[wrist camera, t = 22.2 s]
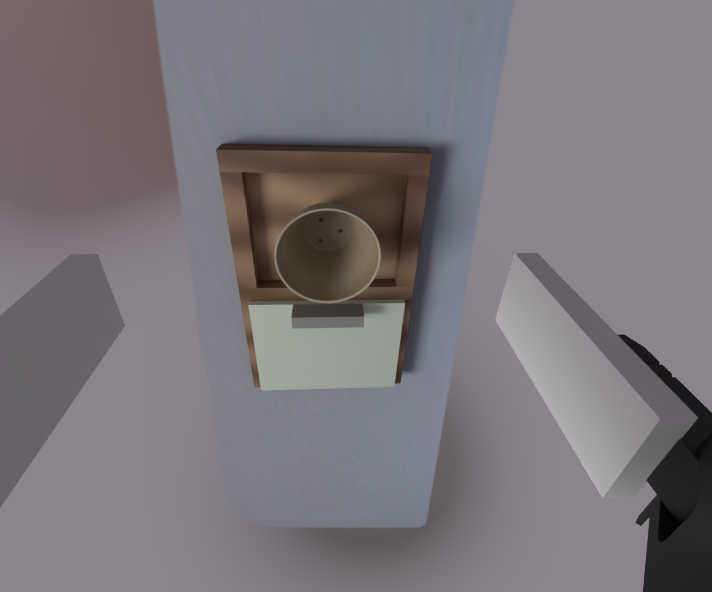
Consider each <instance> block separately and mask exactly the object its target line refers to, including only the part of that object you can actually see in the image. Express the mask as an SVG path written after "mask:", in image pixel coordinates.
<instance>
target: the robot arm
mask: <svg viewBox="0 0 712 592" xmlns="http://www.w3.org/2000/svg"><path fill="white" fill-rule="evenodd" d="M496 322H497V323H498V325H499V327H500V328H501V330H502V332H503V333H504V335H505V337H506V338H507V340H508V342H509V343H510V345H511V346H512V348H513V350H514V352H515V353H516V355H517V357H518V358H519V360H520V362H521V363H522V365H523V366H524V368H525V370H526V372H527V373H528V375H529V376H530V378H531V380H532V381H533V383H534V385H535V386H536V388H537V390H538V391H539V393H540V395H541V396H542V398H543V400H544V401H545V403H546V405H547V406H548V408H549V410H550V411H551V413H552V415H553V416H554V418H555V420H556V421H557V423H558V425H559V426H560V428H561V429H562V431H563V433H564V435H565V436H566V438H567V440H568V441H569V443H570V445H571V446H572V448H573V450H574V451H575V453H576V455H577V456H578V458H579V459H580V461H581V463H582V465H583V466H584V468H585V469H586V471H587V473H588V474H589V476H590V478H591V479H592V481H593V483H594V484H595V486H596V488H597V489H598V491H599V493H600V494H601V496H602V498H613V497H630V496H631V497H632V496H635V495H636V494H637V493H638V491H639V490H640V489H641V488H642V486H643V485H644V484H645V483H646V482H647V481H648V483H649V484H650V486H651V487H652V488H653V490H654V491H655V492H656V494H657V495H656V497H655V498H654V499H653V500H652V501H651V503H649V505H648V506H647V507H646V508H645V509H644V511H643V512H642V513H641V514H640V515H639V516H638V519H637V521H636V523H637V524H639V525H640V526H641V525H642V524H643V523H644V522H645V521H646V520H647V519H648V518H650V520H649V531H648V542H647V553H646V564H645V575H644V586H643V592H712V413H711V412H710V411H709V410H708V409H707V408H706V407H705V406H704V405H703V404H702V403H701V402H700V401H699V400H698V399H697V398H696V397H695V396H694V395H693V394H692V393H691V392H690V391H689V390H688V389H687V388H686V387H685V386H684V385H683V384H681V382H680V381H678V380H677V379H676V378H675V377H672V374H671V373H670V372H669V371H668V370H667V369H666V368H665V367H664V366H663V365H660V364H659V361H658V360H657V359H656V358H655V357H654V356H653V355H652V354H651V353H650V352H648V350H647V349H646V348H645V347H643V346H642V345H640V344H638V343H637V342H635V341H634V340H632V339H630V338H629V337H627V336H626V335H617V334H616V333H615V332H614V331H613V330H612V329H611V328H610V327H609V326H608V325H607V324H606V323H605V322H604V321H603V320H602V319H601V318H600V317H599V316H598V315H597V314H596V313H595V312H594V311H593V310H592V309H591V308H590V306H589V305H587V303H586V302H585V301H584V300H582V298H581V297H580V296H579V295H578V294H577V293H576V292H575V291H574V290H573V289H572V288H571V287H570V286H569V285H568V284H567V283H566V282H565V281H564V280H563V279H562V278H561V277H560V276H559V275H558V274H557V273H556V272H555V271H554V270H553V269H552V268H551V267H550V266H549V265H548V264H547V263H546V262H545V260H544V259H542V257H541V256H540V255H538V253H515V255H514V259H513V262H512V265H511V269H510V272H509V275H508V279H507V282H506V286H505V289H504V292H503V296H502V299H501V302H500V306H499V309H498V313H497V316H496ZM124 326H125V325H124V322H123V320H122V317H121V314H120V312H119V309H118V306H117V304H116V301H115V299H114V296H113V293H112V291H111V288H110V285H109V283H108V280H107V278H106V275H105V272H104V270H103V267H102V265H101V262H100V259H99V257H98V254H71V255H70V256H68V257H67V258H66V259H65V260H64V261H63V262H61V264H59V265H58V266H57V267H56V268H55V269H53V270H52V271H51V272H50V273H49V274H48V275H47V276H45V277H44V278H43V279H42V280H41V281H40V282H38V283H37V284H36V285H35V286H34V287H33V288H32V289H30V290H29V291H28V292H27V293H26V294H25V295H23V296H22V297H21V298H20V299H19V300H18V301H17V302H15V303H14V304H13V305H12V306H11V307H10V308H8V309H7V310H6V311H5V312H4V313H3V314H2V315H0V507H1V506H2V504H3V503H4V501H5V500H6V498H7V497H8V495H9V494H10V493H11V491H12V490H13V488H14V487H15V485H16V484H17V482H18V481H19V479H20V478H21V476H22V475H23V473H24V472H25V471H26V469H27V468H28V466H29V465H30V463H31V462H32V460H33V459H34V457H35V456H36V455H37V453H38V452H39V450H40V449H41V447H42V446H43V444H44V443H45V441H46V440H47V439H48V437H49V435H50V434H51V433H52V431H53V430H54V428H55V427H56V425H57V424H58V422H59V421H60V420H61V418H62V417H63V415H64V414H65V412H66V411H67V409H68V408H69V406H70V405H71V403H72V402H73V400H74V399H75V397H76V396H77V395H78V393H79V392H80V390H81V389H82V387H83V386H84V384H85V383H86V382H87V380H88V379H89V377H90V376H91V374H92V373H93V371H94V370H95V368H96V367H97V366H98V364H99V363H100V361H101V360H102V358H103V357H104V355H105V354H106V352H107V351H108V349H109V348H110V347H111V345H112V344H113V342H114V340H115V339H116V338H117V336H118V335H119V333H120V332H121V330H122V329H123V328H124Z"/></svg>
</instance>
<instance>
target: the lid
mask: <svg viewBox="0 0 712 592" xmlns="http://www.w3.org/2000/svg"><path fill="white" fill-rule="evenodd" d="M248 306H249V313H250V319H251V326H252V333H253V340H254V346H255V353H256V360H257V366H258V373H259V380H260V386H261V391H262V390H297V389H332V388H366V387H394V386H395V378H396V370H397V362H398V354H399V347H400V339H401V331H402V323H403V315H404V308H405V301H404V299H387V300H345V301H342V302H336V303H318V302H313V301H310V300H298V301H249V305H248Z"/></svg>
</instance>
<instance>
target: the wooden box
mask: <svg viewBox="0 0 712 592" xmlns="http://www.w3.org/2000/svg"><path fill="white" fill-rule="evenodd" d="M216 151H217V158H218V164H219V170H220V176H221V182H222V189H223V195H224V201H225V207H226V213H227V219H228V226H229V232H230V238H231V244H232V250H233V256H234V263H235V269H236V275H237V281H238V287H239V294H240V300H241V306H242V312H243V318H244V324H245V331H246V337H247V343H248V349H249V355H250V362H251V368H252V374H253V380H254V386H255V387H261V386H260V380H259V373H258V366H257V360H256V353H255V346H254V340H253V333H252V326H251V319H250V313H249V306H248V305H249V301H298V300H307V299H304V298H302V297H300V296H298V295H297V294H295V293H294V292H292V291H291V290H290V289H289V288H288V287H287V286H286V285H285V284H284V282H283V281H282V280H281V278H280V276H279V274H278V272H277V269H276V266H275V259H274V251H275V246H276V242H277V239H278V237H279V235H280V233H281V231H282V230H283V228H284V227H285V225H286V224H287V223H288V222H289V220H290V219H291V218H292V217H293V216H295V215H296V214H297V213H298V212H300V211H301V210H303V209H305V208H306V207H309V206H311V205H314V204H318V203H336V204H341V205H344V206H346V207H348V208H350V209H352V210H354V211H355V212H357V213H358V214H359V215H360V216H362V217H363V218H364V219H365V220H366V221H367V222H368V224H369V225H370V226H371V228H372V229H373V231H374V232H375V234H376V236H377V238H378V240H379V243H380V247H381V264H380V268H379V271H378V273H377V275H376V277H375V279H374V280H373V282H372V283H371V284H370V285H369V286H368V287H367V288H366V289H365V290H364V291H363V292H361V293H360V294H358V295H357V296H355V297H353V298H351V299H348V300H387V299H404V301H405V308H404V315H403V323H402V331H401V339H400V347H399V354H398V362H397V370H396V378H395V383H400V382H401V375H402V368H403V361H404V354H405V346H406V339H407V332H408V325H409V318H410V311H411V303H412V296H413V289H414V282H415V275H416V268H417V260H418V253H419V246H420V239H421V232H422V225H423V217H424V210H425V203H426V196H427V189H428V182H429V174H430V167H431V160H432V153H431V152H430V150H429V149H428V148H402V147H350V146H297V145H245V144H221V145H220V146H219V147H218V148H217V149H216ZM319 220H320V221H321V219H319ZM339 230H342V229H339ZM322 241H323V240H321V242H322Z"/></svg>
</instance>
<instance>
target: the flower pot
mask: <svg viewBox="0 0 712 592" xmlns="http://www.w3.org/2000/svg"><path fill="white" fill-rule="evenodd" d="M319 219H321V221H320V220H319ZM339 229H342V230H339ZM321 240H323V241H322V242H321ZM274 259H275V266H276V269H277V272H278V274H279V276H280V278H281V280H282V281H283V282H284V284H285V285H286V286H287V287H288V288H289V289H290V290H291V291H292V292H294V293H295V294H297V295H298V296H300V297H302V298H304V299H307V300H310V301H313V302H318V303H336V302H342V301H345V300H348V299H351V298H353V297H355V296H357V295H358V294H360V293H361V292H363V291H364V290H365V289H366V288H367V287H368V286H369V285H370V284H371V283H372V282H373V280H374V279H375V277H376V275H377V273H378V271H379V268H380V264H381V247H380V243H379V240H378V238H377V236H376V234H375V232H374V231H373V229H372V228H371V226H370V225H369V224H368V222H367V221H366V220H365V219H364V218H363V217H362V216H360V215H359V214H358V213H357V212H355V211H354V210H352V209H350V208H348V207H346V206H344V205H341V204H336V203H318V204H314V205H311V206H309V207H306V208H305V209H303V210H301V211H300V212H298V213H297V214H296V215H295V216H293V217H292V218H291V219H290V220H289V222H288V223H287V224H286V225H285V227H284V228H283V230H282V231H281V233H280V235H279V237H278V239H277V242H276V246H275V251H274Z"/></svg>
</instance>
